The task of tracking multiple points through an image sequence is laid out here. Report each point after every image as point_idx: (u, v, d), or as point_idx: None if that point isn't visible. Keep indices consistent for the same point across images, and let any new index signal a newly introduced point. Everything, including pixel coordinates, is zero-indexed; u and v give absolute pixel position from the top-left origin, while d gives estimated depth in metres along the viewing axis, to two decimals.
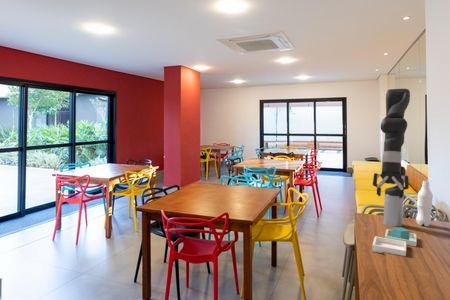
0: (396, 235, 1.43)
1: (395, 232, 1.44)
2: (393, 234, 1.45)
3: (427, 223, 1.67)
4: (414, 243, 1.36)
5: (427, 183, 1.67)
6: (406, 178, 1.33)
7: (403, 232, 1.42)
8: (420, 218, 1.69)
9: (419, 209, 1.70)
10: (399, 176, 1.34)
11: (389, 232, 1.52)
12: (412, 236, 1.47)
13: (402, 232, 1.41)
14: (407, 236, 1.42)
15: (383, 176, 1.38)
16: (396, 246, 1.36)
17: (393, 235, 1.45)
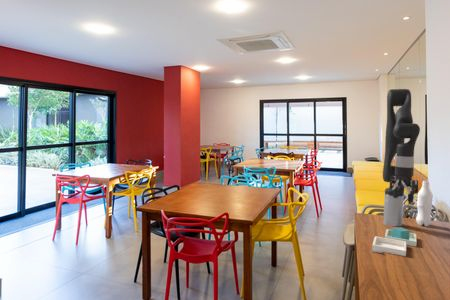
0: (396, 235, 1.43)
1: (395, 232, 1.44)
2: (393, 234, 1.45)
3: (427, 223, 1.67)
4: (414, 243, 1.36)
5: (427, 183, 1.67)
6: (412, 183, 1.36)
7: (403, 232, 1.42)
8: (420, 218, 1.69)
9: (419, 209, 1.70)
10: (408, 180, 1.39)
11: (389, 232, 1.52)
12: (412, 236, 1.47)
13: (402, 232, 1.41)
14: (407, 236, 1.42)
15: (396, 179, 1.45)
16: (396, 246, 1.36)
17: (393, 235, 1.45)
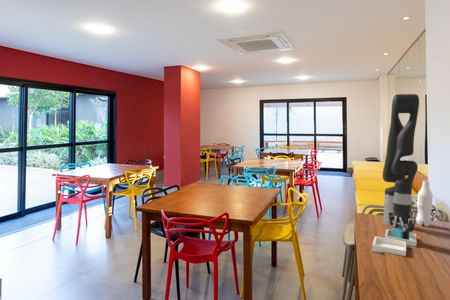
0: (396, 235, 1.43)
1: (395, 232, 1.44)
2: (393, 234, 1.45)
3: (427, 223, 1.67)
4: (414, 243, 1.36)
5: (427, 183, 1.67)
6: (409, 222, 1.38)
7: None
8: (420, 218, 1.69)
9: (419, 209, 1.70)
10: (406, 218, 1.40)
11: (389, 232, 1.52)
12: (412, 236, 1.47)
13: (402, 232, 1.41)
14: None
15: (395, 216, 1.46)
16: (396, 246, 1.36)
17: (393, 235, 1.45)
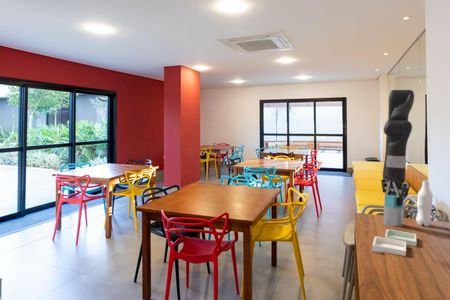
0: (390, 202, 1.32)
1: (388, 199, 1.33)
2: (386, 202, 1.34)
3: (427, 223, 1.67)
4: (414, 243, 1.36)
5: (427, 183, 1.67)
6: (403, 186, 1.27)
7: None
8: (420, 218, 1.69)
9: (419, 209, 1.70)
10: (399, 182, 1.29)
11: (389, 232, 1.52)
12: (412, 236, 1.47)
13: (396, 198, 1.30)
14: None
15: (388, 182, 1.35)
16: (396, 246, 1.36)
17: (386, 202, 1.34)
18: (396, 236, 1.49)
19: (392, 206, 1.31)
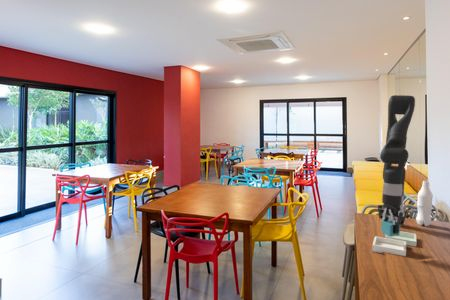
0: (386, 229, 1.32)
1: (385, 226, 1.33)
2: (383, 228, 1.34)
3: (427, 223, 1.67)
4: (414, 243, 1.36)
5: (427, 183, 1.67)
6: (400, 215, 1.26)
7: None
8: (420, 218, 1.69)
9: (419, 209, 1.70)
10: (395, 210, 1.29)
11: None
12: (412, 236, 1.47)
13: (392, 226, 1.30)
14: None
15: (384, 208, 1.35)
16: (396, 246, 1.36)
17: (382, 229, 1.34)
18: (396, 236, 1.49)
19: (388, 234, 1.31)
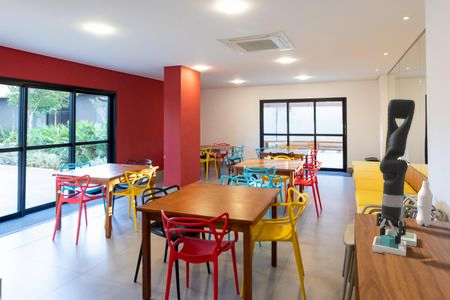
0: (385, 244, 1.33)
1: (384, 240, 1.33)
2: (382, 242, 1.35)
3: (427, 223, 1.67)
4: (414, 243, 1.36)
5: (427, 183, 1.67)
6: (400, 224, 1.26)
7: (392, 240, 1.31)
8: (420, 218, 1.69)
9: (419, 209, 1.70)
10: (395, 221, 1.29)
11: (389, 232, 1.52)
12: (412, 236, 1.47)
13: (391, 240, 1.31)
14: (396, 245, 1.32)
15: (383, 218, 1.35)
16: None
17: (381, 243, 1.35)
18: None
19: None
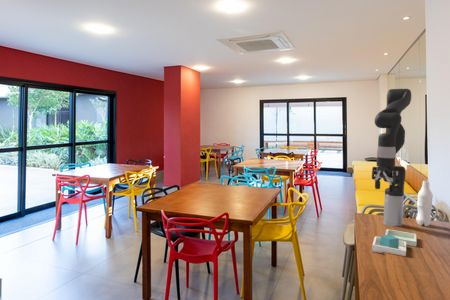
0: (385, 244, 1.33)
1: (384, 240, 1.33)
2: (382, 242, 1.35)
3: (427, 223, 1.67)
4: (414, 243, 1.36)
5: (427, 183, 1.67)
6: (393, 174, 1.33)
7: (392, 240, 1.31)
8: (420, 218, 1.69)
9: (419, 209, 1.70)
10: (389, 171, 1.36)
11: (389, 232, 1.52)
12: (412, 236, 1.47)
13: (391, 240, 1.31)
14: (396, 245, 1.32)
15: (378, 170, 1.42)
16: None
17: (381, 243, 1.35)
18: (396, 236, 1.49)
19: None
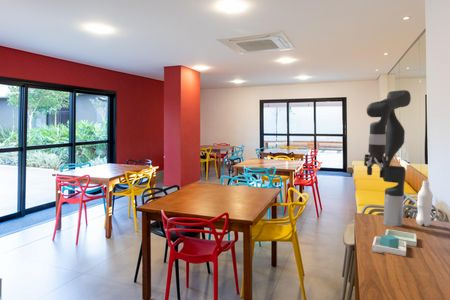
0: (385, 244, 1.33)
1: (384, 240, 1.33)
2: (382, 242, 1.35)
3: (427, 223, 1.67)
4: (414, 243, 1.36)
5: (427, 183, 1.67)
6: (384, 159, 1.43)
7: (392, 240, 1.31)
8: (420, 218, 1.69)
9: (419, 209, 1.70)
10: (380, 157, 1.45)
11: (389, 232, 1.52)
12: (412, 236, 1.47)
13: (391, 240, 1.31)
14: (396, 245, 1.32)
15: None
16: None
17: (381, 243, 1.35)
18: (396, 236, 1.49)
19: None
